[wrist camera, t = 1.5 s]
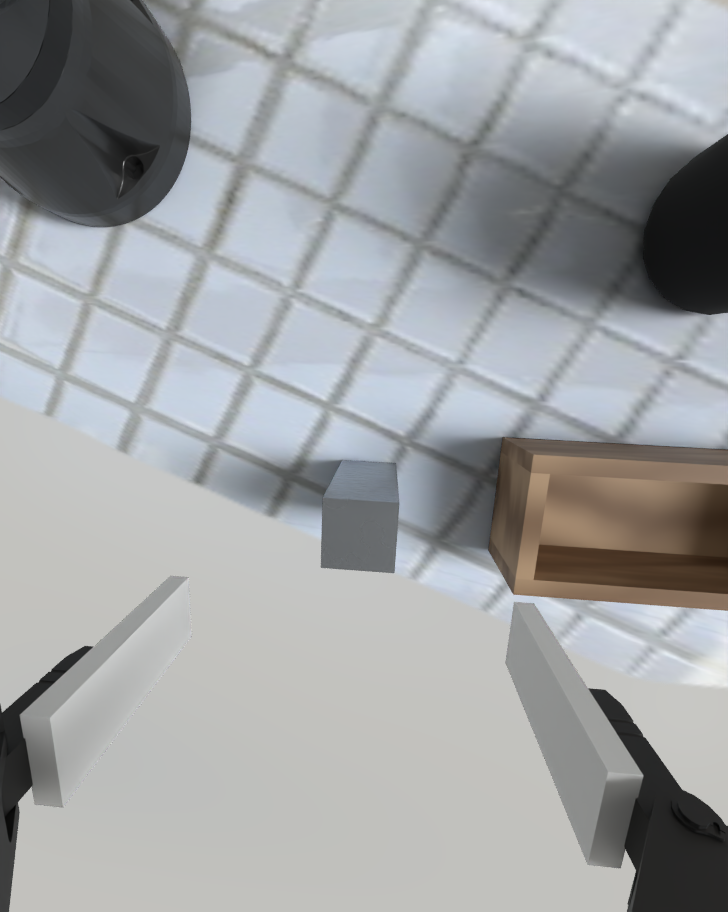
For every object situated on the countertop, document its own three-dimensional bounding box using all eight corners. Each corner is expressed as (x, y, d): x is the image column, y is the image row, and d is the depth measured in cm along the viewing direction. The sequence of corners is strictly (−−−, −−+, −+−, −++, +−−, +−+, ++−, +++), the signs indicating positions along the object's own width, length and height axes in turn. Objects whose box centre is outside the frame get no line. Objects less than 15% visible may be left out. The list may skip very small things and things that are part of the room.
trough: (502, 437, 31) (533, 454, 25) (769, 452, 30) (877, 474, 24) (488, 550, 33) (513, 594, 27) (737, 567, 32) (828, 618, 26)
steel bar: (342, 460, 32) (322, 497, 23) (395, 463, 32) (399, 502, 22) (340, 510, 33) (320, 567, 24) (392, 514, 33) (394, 573, 23)
